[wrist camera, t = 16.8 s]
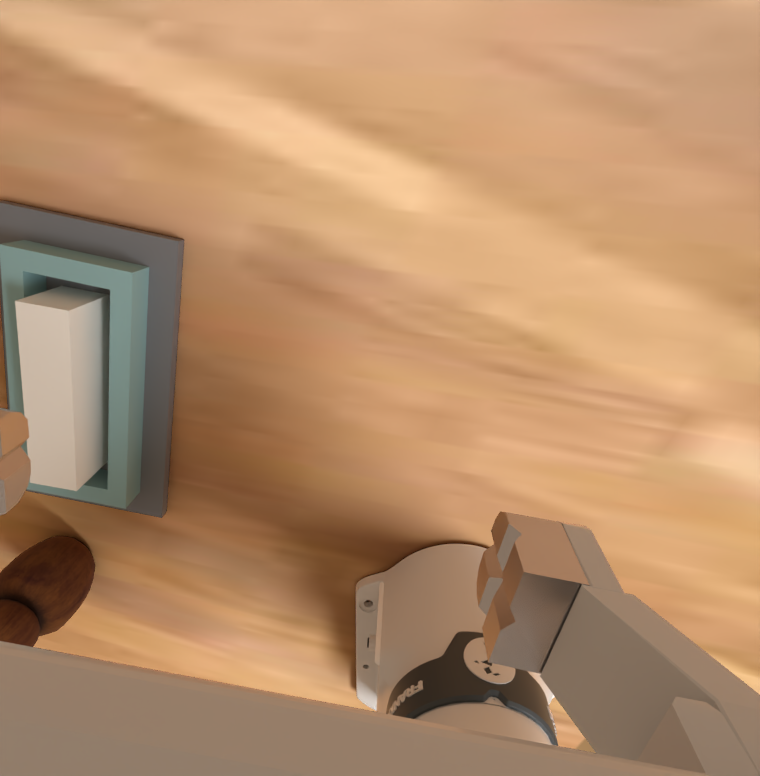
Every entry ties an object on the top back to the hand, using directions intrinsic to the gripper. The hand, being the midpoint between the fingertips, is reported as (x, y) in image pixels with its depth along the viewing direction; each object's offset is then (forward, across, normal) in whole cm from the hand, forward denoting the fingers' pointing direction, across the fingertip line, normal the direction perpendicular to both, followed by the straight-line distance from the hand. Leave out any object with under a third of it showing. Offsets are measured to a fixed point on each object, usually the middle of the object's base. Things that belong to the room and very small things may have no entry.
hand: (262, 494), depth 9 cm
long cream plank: (+30, +20, +14) cm, 39 cm away
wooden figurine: (+31, +22, +33) cm, 50 cm away
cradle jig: (+31, +20, +14) cm, 39 cm away
